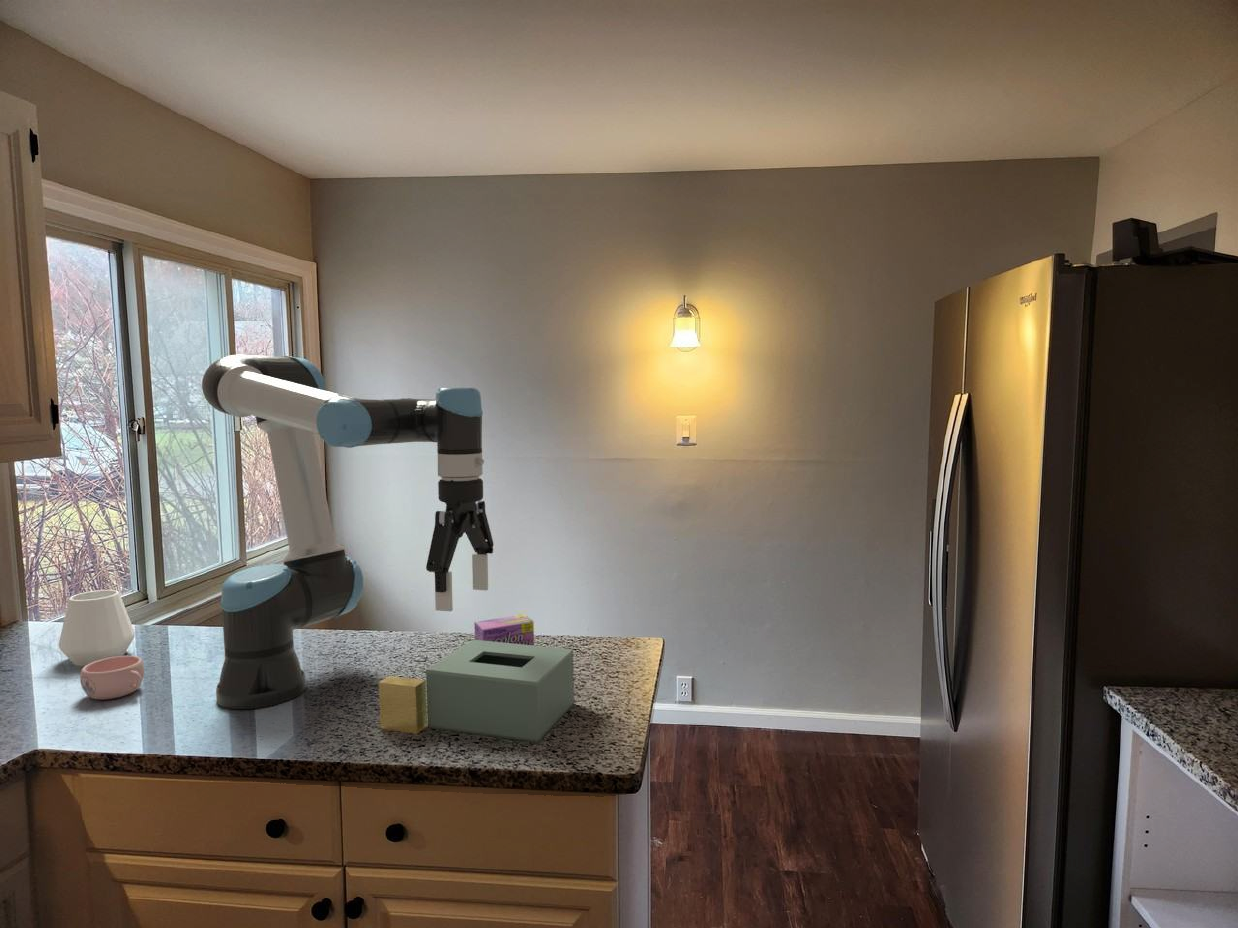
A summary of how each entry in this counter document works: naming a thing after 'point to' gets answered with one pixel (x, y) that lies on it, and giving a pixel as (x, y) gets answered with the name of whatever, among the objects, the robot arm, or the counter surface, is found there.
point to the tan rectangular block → (402, 704)
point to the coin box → (500, 690)
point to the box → (506, 630)
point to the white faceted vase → (95, 627)
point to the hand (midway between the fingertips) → (463, 599)
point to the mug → (112, 677)
